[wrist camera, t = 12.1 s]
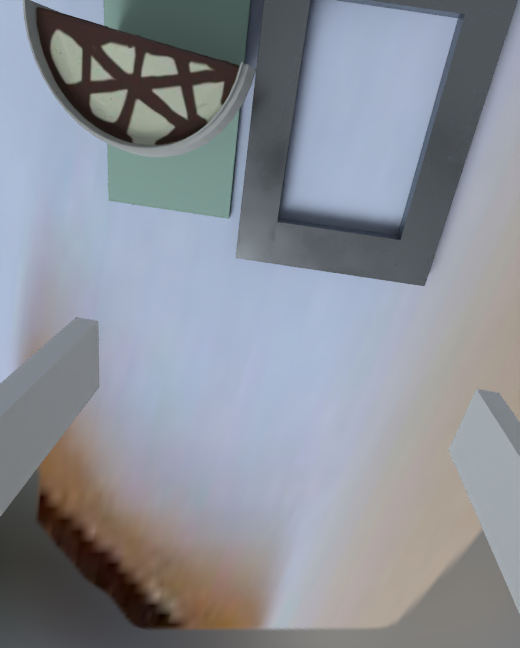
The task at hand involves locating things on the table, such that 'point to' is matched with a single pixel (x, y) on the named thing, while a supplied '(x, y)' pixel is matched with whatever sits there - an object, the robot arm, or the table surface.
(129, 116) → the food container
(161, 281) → the table surface
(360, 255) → the grey rectangular frame
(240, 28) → the pad
